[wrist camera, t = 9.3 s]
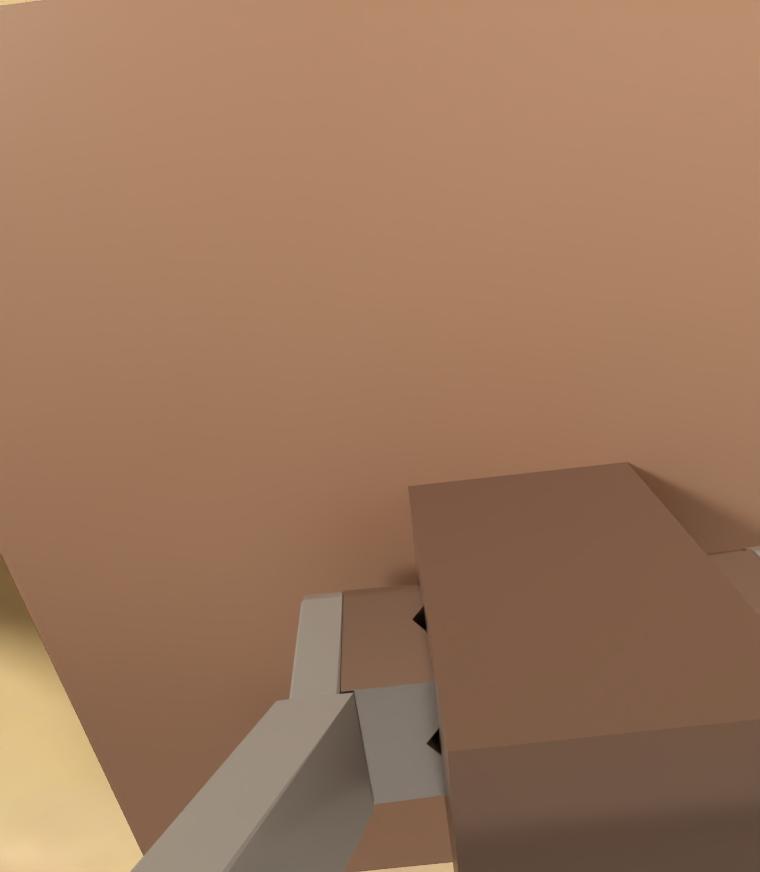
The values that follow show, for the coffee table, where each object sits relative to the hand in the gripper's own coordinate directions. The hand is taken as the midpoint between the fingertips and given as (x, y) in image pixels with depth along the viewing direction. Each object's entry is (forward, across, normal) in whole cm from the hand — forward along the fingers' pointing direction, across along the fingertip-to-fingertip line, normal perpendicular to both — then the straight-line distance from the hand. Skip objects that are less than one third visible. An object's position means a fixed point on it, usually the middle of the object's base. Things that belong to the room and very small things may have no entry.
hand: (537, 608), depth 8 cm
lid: (+2, 0, 0) cm, 2 cm away
